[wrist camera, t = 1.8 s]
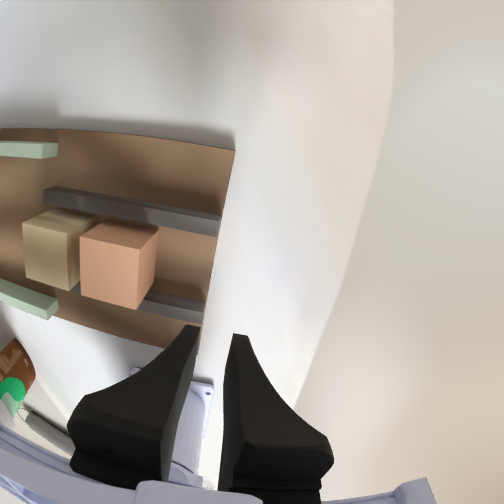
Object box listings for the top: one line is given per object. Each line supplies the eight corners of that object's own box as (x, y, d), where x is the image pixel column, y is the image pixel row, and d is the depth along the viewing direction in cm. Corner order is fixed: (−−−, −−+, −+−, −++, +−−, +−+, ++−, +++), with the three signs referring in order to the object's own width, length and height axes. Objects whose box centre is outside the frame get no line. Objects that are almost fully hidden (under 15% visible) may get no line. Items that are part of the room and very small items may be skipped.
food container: (29, 399, 28) (-1, 447, 19) (-2, 369, 27) (-36, 414, 17) (56, 369, 26) (16, 432, 16) (17, 331, 24) (-31, 386, 15)
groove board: (198, 347, 24) (194, 367, 22) (-10, 283, 22) (-23, 293, 20) (235, 151, 19) (233, 151, 16) (-15, 129, 17) (-32, 131, 14)
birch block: (94, 267, 20) (68, 291, 17) (54, 256, 20) (26, 277, 16) (95, 216, 19) (66, 233, 15) (53, 208, 19) (22, 223, 15)
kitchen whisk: (20, 394, 29) (1, 422, 23) (223, 487, 35) (221, 519, 29) (21, 412, 30) (5, 438, 25) (207, 496, 37) (204, 525, 31)
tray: (58, 308, 22) (47, 320, 20) (-17, 279, 21) (-28, 287, 19) (58, 143, 17) (42, 144, 15) (-23, 140, 16) (-37, 142, 14)
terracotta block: (153, 281, 21) (136, 309, 17) (105, 270, 20) (81, 295, 17) (159, 229, 19) (139, 249, 16) (107, 219, 19) (79, 236, 15)
